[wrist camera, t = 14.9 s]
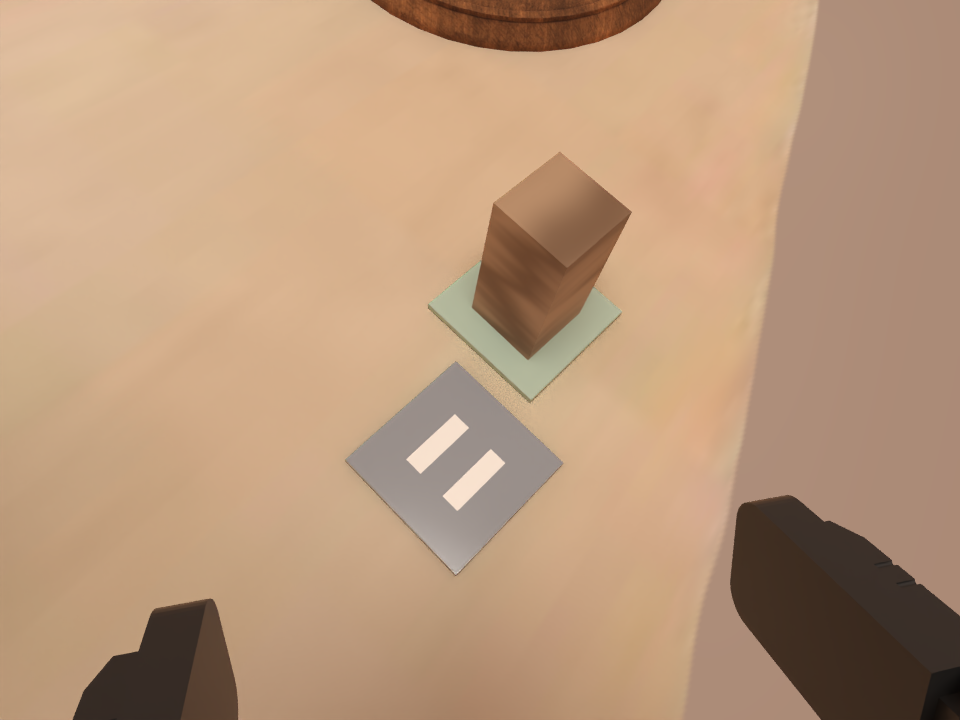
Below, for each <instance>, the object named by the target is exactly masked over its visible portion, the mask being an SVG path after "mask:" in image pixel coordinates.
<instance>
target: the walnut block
mask: <svg viewBox="0 0 960 720" xmlns="http://www.w3.org/2000/svg"><path fill="white" fill-rule="evenodd" d="M631 213H632V212H631V211H630V210H629V209H628V208H626V207H625V206H624V205H623V204H622V203H620V202H619V201H618V200H617V199H616V198H614V197H613V196H612V195H611V194H610V193H608V192H607V191H606V190H605V189H604V188H602V187H601V186H600V185H599V184H598V183H596V182H595V181H594V180H593V179H592V178H591V177H589V176H588V175H587V174H586V173H585V172H583V171H582V170H581V169H580V168H579V167H577V166H576V165H575V164H574V163H573V162H571V161H570V160H569V159H568V158H567V157H565V156H564V155H563V154H562V153H561V152H559V153H558V154H556V155H555V156H554V157H553V158H551V159H550V160H549V161H547V162H546V163H545V164H544V165H542V166H541V167H540V168H538V169H537V170H536V171H534V172H533V173H532V174H531V175H529V176H528V177H527V178H525V179H524V180H523V181H521V182H520V183H519V184H518V185H516V186H515V187H514V188H512V189H511V190H510V191H508V192H507V193H506V194H505V195H503V196H502V197H501V198H499V199H498V200H497V201H495V202H494V203H493V208H492V213H491V218H490V222H489V227H488V232H487V237H486V242H485V246H484V251H483V256H482V261H481V266H480V270H479V275H478V280H477V285H476V290H475V294H474V299H473V304H472V308H473V309H474V310H475V311H476V312H477V313H478V314H479V315H480V316H481V317H482V318H483V319H484V320H485V321H487V322H488V323H489V324H490V325H491V326H492V327H493V328H494V329H495V330H496V331H497V332H498V333H499V334H500V335H501V336H503V337H504V338H505V339H506V340H507V341H508V342H509V343H510V344H511V345H512V346H513V347H514V348H515V349H516V350H517V351H518V352H520V353H521V354H522V355H523V356H524V357H525V358H526V359H527V360H529V359H530V358H531V357H532V356H533V355H534V354H535V353H536V352H537V351H539V350H540V349H541V348H542V347H543V346H544V345H545V344H546V343H547V342H548V341H550V340H551V339H552V338H553V337H554V336H555V335H556V334H557V333H558V332H559V331H561V330H562V329H563V328H564V327H565V326H566V325H567V324H568V323H569V322H570V321H572V320H573V319H574V318H575V317H576V316H577V315H578V314H579V313H580V312H581V310H582V308H583V306H584V304H585V302H586V300H587V298H588V296H589V294H590V292H591V290H592V288H593V286H594V284H595V282H596V280H597V279H598V277H599V275H600V273H601V271H602V269H603V267H604V265H605V263H606V261H607V259H608V257H609V255H610V253H611V251H612V249H613V247H614V246H615V244H616V242H617V240H618V238H619V236H620V234H621V232H622V230H623V228H624V226H625V224H626V222H627V220H628V218H629V216H630V215H631Z"/></svg>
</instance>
